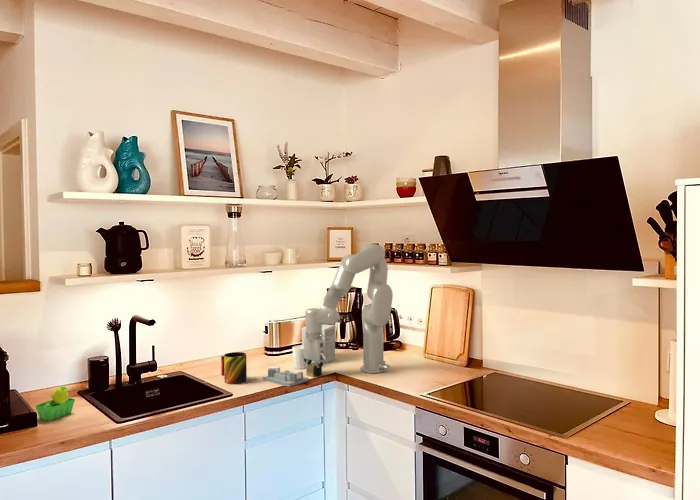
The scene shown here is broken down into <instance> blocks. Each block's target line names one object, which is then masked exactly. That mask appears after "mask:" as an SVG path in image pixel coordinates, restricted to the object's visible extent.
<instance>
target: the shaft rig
mask: <svg viewBox="0 0 700 500" xmlns="http://www.w3.org/2000/svg"><path fill="white" fill-rule="evenodd" d="M262 380H263V381H267V382H270V383H274V384H277V385H281V386H285V387H289V388H290V387H294V386H296V385H300V384H303V383H306V382H309V381H310V378H309V377H308V376H307V377H306V376H304V372H303V371H300V370H296V369H293V370H287V369H286V370H284V371H281V366H274V365H273V366H272V365H271V366H269V367H268V369H267V375H265V376H262Z"/></svg>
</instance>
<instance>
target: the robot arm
mask: <svg viewBox="0 0 700 500" xmlns="http://www.w3.org/2000/svg"><path fill="white" fill-rule="evenodd" d="M385 257H386V251H385V249H384V247H383V246H382V245H380V244H375V243H368V244H365V245H364V246H362V248H361V250H360V251H359V252H358V253H355V254H346V255H344V256H343V257H342V258H341V260H340V263H339V266H338V268H337V271H336V273H335V275H334V279H333V280H332V281H333V282H332V283H331V285H330V287H329V288H328V290H327V291H326V293H325V296H324V297H323V299H322V303H321V305H320V308H316V307H315V308H314V307H313V308H307V309H306V310H305V313H304V315H305V317H304V319H305V321H304V323H305V327H306V338H305V341H304V354H303V355H302V358H303V359H304V361H305V363H306V365H308V364H312V360H313V361H316V365H317V367H316V376H315V377H319V376H322V375H323V374H322V373H323V369H322V367H323V366H324V365H325V364H324V363H325V362H326V361H327V360H326V358H325V345H324V340H323V339H322V337H323V335H322V325H335V324H337V323H338V322H339V321H340V317H341V316H340V313H339V311H338V310H337V307H338V304H339V303H340V300H341V299H342V297H344V296H345V295H346V294H347V293H348V292H349V291H350V290H351V286H352V284H353V281H354V279H355V276H356V274H357V275H358V274H360V273H362V272H364V271H366V270H368V269H369V276H368V277H369V278H368V284H367V290H366V295H367V297H368V298H369V300H371V303H368V304H366V305H365V306H364V308H363V309H362V310H361V320H362V321H361V322H362V329H363V330H362V333H363V334H362V336H363V337H362V339H363V340H362V343H363V345H362V346H363V347H362V349H363V354H362V355H363V358H362V359H363V365H361V366H360V371H361V372H363V373H366V374H367V373H368V374H380V373H385V372H386V371H388V370H389V369H390V364H386V361H385V360H384V326H386V325H387V324H388V322H389V320H390V317H391V311H392V305H393V304H392V303H393V298H394V297H393V290H392V287H391V286H390V285H389V284H388V274H389V270H388V269H389V268H388V267H389V266H388V262H387V260H386V258H385Z"/></svg>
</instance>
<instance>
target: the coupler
mask: <svg viewBox="0 0 700 500" xmlns="http://www.w3.org/2000/svg"><path fill="white" fill-rule="evenodd" d="M316 367H317V365H316V362H315V363H311V364H308V365H306V368H305V370H306V372H305V373H306V376H307V377H311V378H315V377H317V376H316Z"/></svg>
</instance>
